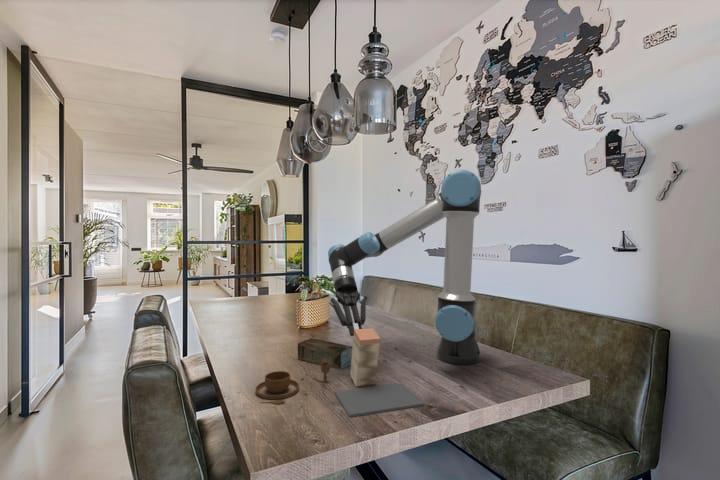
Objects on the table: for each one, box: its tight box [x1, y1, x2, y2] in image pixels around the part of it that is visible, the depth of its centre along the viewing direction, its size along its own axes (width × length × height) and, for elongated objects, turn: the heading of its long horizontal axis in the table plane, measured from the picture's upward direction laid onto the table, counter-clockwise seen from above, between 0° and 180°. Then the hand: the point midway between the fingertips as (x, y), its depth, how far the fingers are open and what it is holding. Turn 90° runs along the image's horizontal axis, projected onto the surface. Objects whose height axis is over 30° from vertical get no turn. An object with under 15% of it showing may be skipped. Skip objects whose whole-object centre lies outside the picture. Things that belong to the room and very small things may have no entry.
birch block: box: [349, 327, 381, 387], centre depth 107 cm, size 6×6×15 cm
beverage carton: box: [297, 337, 353, 370], centre depth 127 cm, size 8×19×7 cm, turn 59°
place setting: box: [255, 362, 330, 405], centre depth 103 cm, size 18×20×6 cm
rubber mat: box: [334, 382, 425, 418], centre depth 97 cm, size 20×14×1 cm
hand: (358, 344), depth 110 cm, fingers closed
